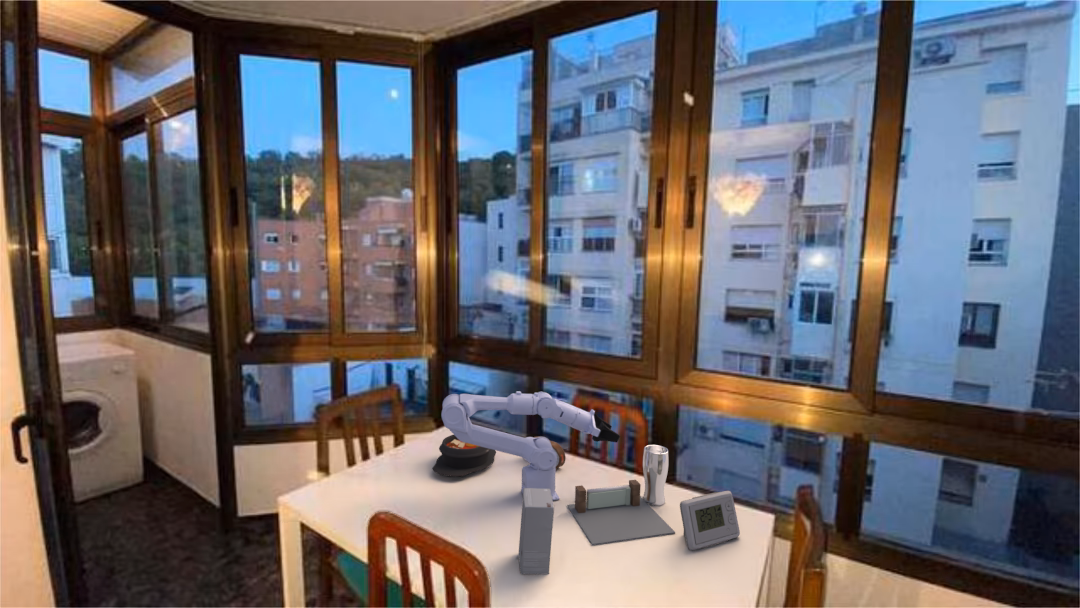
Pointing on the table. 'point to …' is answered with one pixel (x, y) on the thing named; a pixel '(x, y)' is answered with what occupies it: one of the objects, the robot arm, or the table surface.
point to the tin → (558, 453)
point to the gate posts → (581, 496)
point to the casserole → (462, 458)
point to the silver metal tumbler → (655, 473)
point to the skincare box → (536, 531)
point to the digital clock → (709, 519)
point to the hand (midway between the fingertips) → (614, 433)
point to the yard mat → (620, 523)
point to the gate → (608, 496)
